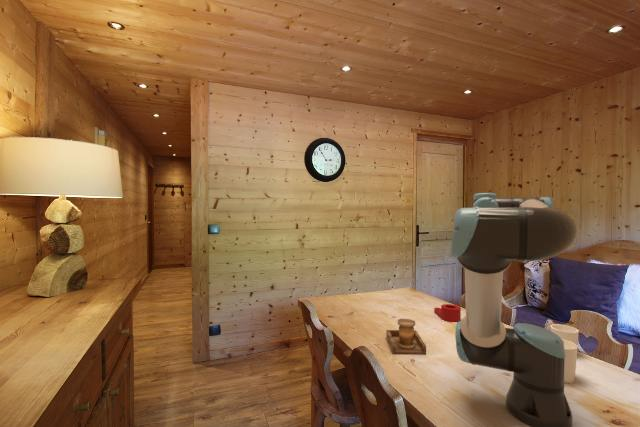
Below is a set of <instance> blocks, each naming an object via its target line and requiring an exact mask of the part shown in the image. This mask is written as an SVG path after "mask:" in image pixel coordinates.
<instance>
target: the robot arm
mask: <svg viewBox="0 0 640 427" xmlns="http://www.w3.org/2000/svg"><path fill="white" fill-rule="evenodd" d="M472 204H473V205H472V207H461V208H458V209H457V210H456V211H455V214H454V221H453V230H452V238H451V244H450V255H451V257H455V258H457V261H458V263H459V265H460V266H461V267H462V268H463V269H464V298H465V299H464V300H465V302H464V303H465V315H464V317H463V318H462V319H461V321H459V322H457V323H456V325H455V333H454V334H455V335H454V336H455V348H456V352H457V356H458V358H459V359H460V360H461V361H462V362H464V363H467V364H471V365H474V366H475V365H476V366H481V367H486V368H492V369H496V370H500V371H507V372H512V373H513V379H512V382H511V383H510V386H509V389H508V392H507V393H506V396H505V399H506V400H505V405H506V409H507V410H508V411H509V412H510V413H511V414H512V415H513V416H514V417H515V418H517V419H518V420H520V421H521V422H524V423H526V424H528V425H530V426H532V427H572V426H573V414H572V411H571V407H570V405H569V402H568V399H567V396H566V394H565V382H564V358H565V351H564V342H563V340H562V339H561V338H560V337H559V336H558V335H557V334H555V333H553V332H551V330H549V329H547V328H545V327H541V326H540V325H539V326H538V325H535V324H530V323H525V322H523V323H520V322H519V323H514V326H513V328H510V327H506V326H505V324H504V323H503V322H502V321H501V318H502V317H501V316H502V300H503V282H504V279H503V278H504V272H505V271H506V270H508V268H510V266H511V264H512V261H521V262H522V261H524V262H538V261H543V260H548V259H551V258H554V257H557V256H558V255H560V254H562V253H563V252H565V251H566V250H567V249H569V248H570V247H571V246H572V244H573V243H574V241H575V240H576V237H577V230H578V228H577V224H576V223H575V220H574V219H573V218H572V216H571V215H569V214H568V213H567V212H565V211H564V210H562V209H560V208H556V207H554V203H553V200H552V198H551V197H548V196H545V197H544V196H535V197H534V196H530V197H529V196H527V197H525V196H524V197H521V196H520V197H497V194H496V192H495V193H493V192H479V193H474V195H473V201H472Z"/></svg>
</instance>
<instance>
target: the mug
mask: <svg viewBox="0 0 640 427" xmlns="http://www.w3.org/2000/svg"><path fill="white" fill-rule="evenodd" d="M549 328H550V331H551V332H553V333H555V334H557V335H558V336H559V337H560V338H561V339H564V340H568V341H570V342H573V343H574V344H576V345H577V346H578V347H579V333H580V332H579V331H580V330H579V329H577V328H576V327H573V326H570V325H567V324H559V323H557V324H555V323H554V324H551V325H550V326H549Z"/></svg>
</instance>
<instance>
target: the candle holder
mask: <svg viewBox="0 0 640 427" xmlns="http://www.w3.org/2000/svg"><path fill="white" fill-rule="evenodd" d="M562 340H563V342H564V351H565V358H564V383H567V384H568V383H569V384H570V383H573V382H575V380H576V379H575V378H576V368H577V357H578V349H579V348H578V347H579V345H578V346H577V345H576V344H574V343H573V342H570V341H568V340H564V339H562Z"/></svg>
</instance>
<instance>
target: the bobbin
mask: <svg viewBox="0 0 640 427" xmlns="http://www.w3.org/2000/svg"><path fill="white" fill-rule="evenodd" d="M397 325H398V330H399V341H398V346H399V347H400V348H403V349H413V348H415V343H414V342H413V341H414V330H415V328H414V327H415V326H416V321H415V320H413V319H410V318H399V319H398V320H397Z"/></svg>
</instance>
